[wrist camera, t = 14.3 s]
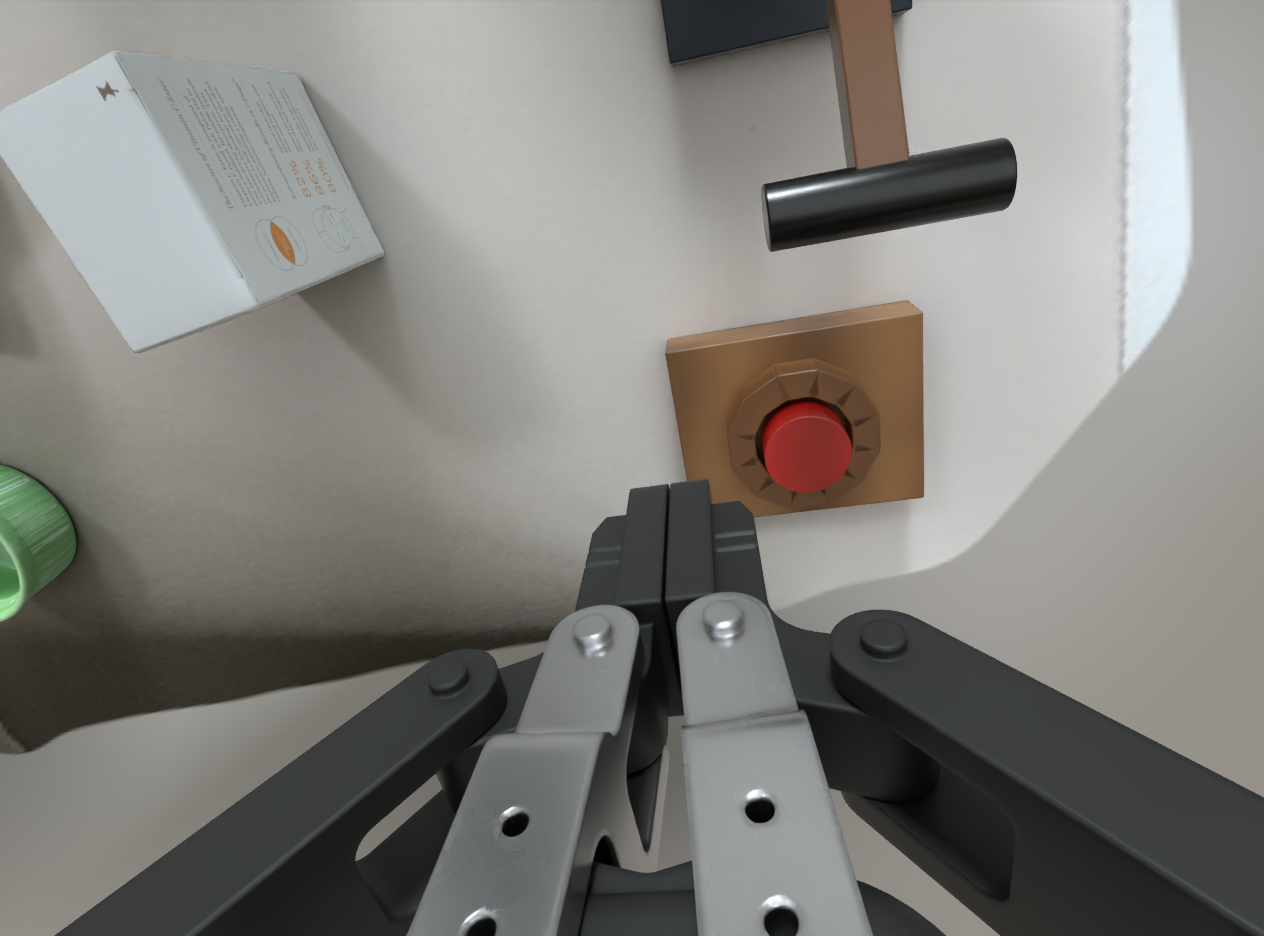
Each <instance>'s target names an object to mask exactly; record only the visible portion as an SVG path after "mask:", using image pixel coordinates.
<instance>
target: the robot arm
mask: <svg viewBox="0 0 1264 936" xmlns="http://www.w3.org/2000/svg"><path fill="white" fill-rule="evenodd" d="M682 715H684V717H685V726H682V747H683V758H684V770H685V783H686V794H687V806H688V818H689V828H690V829H689V830H690V841H691V853H692V861H689V862H686V863H683V864H679V865H676V866H673V867H670V868H666V869H663V870H660V871H657V862H658V853H659V844H660V836H661V827H662V819H663V810H664V801H665V792H666V783H667V775H668V766H669V753H668V748H667V744H666V742H667V736H668V717H669V716H682ZM435 774H437V777H438V779H439V781H440V784H441V786H442V788H443V789H442V790H441V791H440V792H439V793H438V794H436V795H435V796H434V797H433V798H432V799H431V800H430V801H429V802H427V803H426V804H425V805H424V806H423V807H422V808H421V809H419V810H418V811H417V812H416V813H415V814H414V815H413V816H412V817H410V818H409V819H408V820H407V821H406V822H405V823H404V824H402V825H401V826H400V827H399V828H398V829H397V830H396V831H395V832H393V833H392V834H391V835H390V836H389V837H388V838H387V839H385V840H384V841H383V842H382V843H381V844H380V845H378V846H377V847H376V848H375V849H374V850H373V851H372V852H371V853H369V854H368V855H367V856H365V857H364V858H362V859H360V860H358V861H355V856H356V852H357V849H358V846H359V844H360V843H361V841H362V839H363V838H364V836H365V835H366V834H367V833H368V832H369V830H371V829H372V828H373V827H374V826H375V825H376V824H377V823H378V822H380V821H381V820H382V819H383V818H384V817H385V816H387V815H388V814H389V813H390V812H391V811H392V810H393V809H395V808H396V807H397V806H398V805H399V804H401V803H402V802H403V801H404V800H405V799H406V798H408V797H409V796H410V795H411V794H412V793H413V792H415V791H416V790H417V789H418V788H419V787H421V785H423V784H424V783H425V782H426V781H428V779H430V778H431V777H432V776H433V775H435ZM829 788H831V789H835V790H839V791H841V793H842V796H843V797H844V800H845V802H846V803H847V804H848V806H849V807H850V808H851V809H852V810H853V811H854V812H855V813H856V814H857V815H858V816H859V817H860V818H862V819H863V820H864V821H865V822H866V823H867V824H869V825H870V826H871V827H872V828H874V829H875V830H876V831H877V832H878V833H879V834H881V835H882V836H883V837H884V838H885V839H886V840H888V841H889V842H890V843H891V844H893V845H894V846H895V847H896V848H897V849H898V850H900V851H901V852H902V853H903V854H904V855H905V856H907V857H908V858H909V859H910V860H911V861H913V862H914V863H915V864H916V865H917V866H918V867H920V868H921V869H922V870H923V871H924V872H926V873H927V874H928V875H929V876H930V877H932V878H933V879H934V880H935V881H936V882H938V883H939V884H940V885H941V886H942V887H943V888H945V889H946V890H947V891H948V892H949V893H951V894H952V895H953V896H954V897H955V898H956V899H958V900H959V901H960V902H961V903H962V904H964V905H965V906H966V907H967V908H968V909H969V910H971V911H972V912H973V913H974V914H975V915H977V916H978V917H979V918H980V919H981V920H983V921H984V922H985V923H986V924H987V925H988V926H990V927H991V928H992V929H993V930H994V931H996V932H997V933H998V934H999V935H1000V936H1264V798H1263V797H1262V796H1260V795H1258V794H1256V793H1254V792H1252V791H1250V790H1248V789H1246V788H1244V787H1242V786H1240V785H1238V784H1236V783H1235V782H1233V781H1230V780H1229V779H1227V778H1225V777H1223V776H1221V775H1219V774H1217V773H1215V772H1213V771H1211V770H1209V769H1208V768H1205V767H1203V766H1202V765H1200V764H1198V763H1196V762H1194V761H1192V760H1190V759H1188V758H1186V757H1184V756H1182V755H1180V754H1178V753H1176V752H1175V751H1172V750H1171V749H1169V748H1166V747H1165V746H1163V745H1161V744H1159V743H1157V742H1155V741H1153V740H1151V739H1149V738H1147V737H1145V736H1144V735H1142V734H1140V733H1138V732H1136V731H1134V730H1132V729H1130V728H1128V727H1126V726H1124V725H1122V724H1120V723H1119V722H1117V721H1114V720H1113V719H1111V718H1109V717H1107V716H1105V715H1103V714H1101V713H1099V712H1097V711H1095V710H1093V709H1091V708H1089V707H1087V706H1086V705H1084V704H1082V703H1080V702H1078V701H1076V700H1074V699H1072V698H1070V697H1068V696H1066V695H1064V694H1062V693H1060V692H1059V691H1057V690H1055V689H1053V688H1051V687H1049V686H1047V685H1045V684H1043V683H1041V682H1039V681H1037V680H1035V679H1033V678H1031V677H1030V676H1028V675H1026V674H1024V673H1022V672H1020V671H1018V670H1016V669H1014V668H1012V667H1010V666H1008V665H1006V664H1004V663H1002V662H1000V661H998V660H997V659H995V658H993V657H991V656H989V655H987V654H985V653H983V652H981V651H979V650H977V649H975V648H973V647H971V646H969V645H968V644H966V643H964V642H962V641H960V640H958V639H956V638H954V637H952V636H950V635H948V634H946V633H944V632H942V631H940V630H939V629H937V628H935V627H933V626H931V625H929V624H927V623H925V622H923V621H921V620H919V619H917V618H915V617H913V616H910V615H908V614H905V613H901V612H897V611H891V610H868V611H862V612H858V613H855V614H853V615H850V616H848V617H846V618H844V619H843V620H841V621H840V622H839V623H838V624H837V625H836V626H835V627H834V629H833V630H832V632H831V634H828V633H820V632H813V631H808V630H804V629H800V628H797V627H794V626H792V625H790V624H788V623H786V622H784V621H783V620H781V619H780V618H779V617H778V616H777V615H775V614H774V612H773V611H772V610H771V608H770V606H769V604H768V600H767V595H766V589H765V583H764V577H763V571H762V565H761V559H760V553H759V547H758V541H757V535H756V528H755V522H754V516H753V513H752V512H751V511H750V510H749V509H747V508H746V507H745V506H744V505H743V504H742V503H741V502H740V501H733V502H725V503H717V504H713V502H712V496H711V489H710V484H709V479H702V480H695V481H687V482H679V483H672V484H671V485H670V488H669V485H668V484H665V485H657V486H650V487H642V488H635V489H631V490H630V493H629V500H628V506H627V513H626V515H622V516H614V517H607V518H606V519H605V520H604V521H603V522H602V523H601V524H600V526H599V527H598V528H597V529H596V530H595V531H594V533H593V534H592V538H591V543H590V547H589V554H588V556H587V560H586V568H585V569H584V574H583V578H582V583H581V587H580V591H579V596H578V600H577V605H576V609H575V612H574V613H572V614H571V615H569V616H567V617H566V618H565V619H563V620H562V621H561V622H560V623H559V624H558V625H557V626H556V627H555V629H554V630H553V631H552V633H551V635H550V638H549V640H548V643H547V646H546V649H545V651H544V652H543V653H541V654H540V655H538V656H535V657H532V658H530V659H527V660H524V661H521V662H518V663H516V664H512V665H509V666H507V667H504V668H501V669H498V667H497V664H496V661H495V659H494V658H493V657H492V656H491V655H490V654H489V653H487V652H485V651H482V650H478V649H460V650H455V651H452V652H448V653H445V654H443V655H441V656H438V657H437V658H435V659H433V660H431V661H430V662H428V663H427V664H425V665H424V666H423V667H421V668H420V669H418V670H417V671H416V672H414V673H413V674H412V675H410V676H409V677H407V678H406V679H405V680H403V681H402V682H400V683H399V684H398V685H397V686H395V687H394V688H392V689H391V690H390V691H388V692H387V693H386V694H384V695H383V696H381V697H380V698H379V699H377V700H376V701H375V702H373V703H372V704H370V705H369V706H368V707H366V708H365V709H364V710H362V711H361V712H359V713H358V714H357V715H355V716H354V717H353V718H351V719H350V720H349V721H347V722H346V723H344V724H343V725H342V726H340V727H339V728H338V729H336V730H335V731H334V732H332V733H331V734H329V735H328V736H327V737H326V738H324V739H323V740H321V741H320V742H319V743H317V744H316V745H314V746H313V747H312V748H310V749H309V750H308V751H306V752H305V753H303V754H302V755H301V756H299V757H298V758H297V759H296V760H294V761H293V762H291V763H290V764H288V765H287V766H286V767H284V768H283V769H282V770H280V771H279V772H278V773H276V774H275V775H273V776H272V777H271V778H269V779H268V780H267V781H265V782H264V783H262V784H261V785H260V786H258V787H257V788H256V789H254V790H253V791H252V792H250V793H249V794H247V795H246V796H245V797H243V798H242V799H241V800H239V801H238V802H236V803H235V804H234V805H233V806H231V807H230V808H228V809H227V810H226V811H224V812H223V813H221V814H220V815H219V816H217V817H216V818H215V819H213V820H212V821H211V822H209V823H208V824H206V825H205V826H204V827H202V828H201V829H200V830H198V831H197V832H196V833H194V834H193V835H192V836H190V837H189V838H187V839H186V840H185V841H183V842H182V843H180V844H179V845H178V846H177V847H175V848H174V849H172V850H171V851H170V852H168V853H167V854H165V855H164V856H163V857H161V858H160V859H159V860H157V861H156V862H155V863H153V864H152V865H150V866H149V867H148V868H146V869H145V870H144V871H142V872H141V873H139V874H138V875H137V876H135V877H134V878H133V879H131V880H130V881H129V882H127V883H126V884H125V885H123V886H122V887H120V888H119V889H118V890H116V891H115V892H114V893H112V894H111V895H109V896H108V897H107V898H105V899H104V900H103V901H101V902H100V903H99V904H97V905H96V906H94V907H93V908H92V909H90V910H89V911H88V912H86V913H85V914H83V915H82V916H81V917H79V918H78V919H77V920H75V921H74V922H73V923H71V924H70V925H68V926H67V927H66V928H64V929H63V930H62V931H60V932H59V933H58V934H56V935H55V936H946V935H945V934H943V933H942V932H941V931H940V930H939V929H938V928H937V927H936V926H935V925H933V924H932V923H931V922H929V921H928V920H927V919H926V918H924V917H923V916H922V915H920V914H919V913H918V912H916V911H915V910H914V909H912V908H911V907H909V906H908V905H906V904H904V903H903V902H901V901H899V900H898V899H896V898H894V897H893V896H891V895H890V894H888V893H885V892H883V891H881V890H879V889H877V888H875V887H873V886H871V885H869V884H866V883H864V882H861V881H858V880H856V877H855V874H854V870H853V867H852V864H851V860H850V857H849V854H848V850H847V848H846V844H845V841H844V837H843V834H842V831H841V827H840V824H839V820H838V817H837V814H836V810H835V807H834V804H833V801H832V797H831V794H830V790H829Z"/></svg>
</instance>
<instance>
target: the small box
mask: <svg viewBox="0 0 1264 936" xmlns="http://www.w3.org/2000/svg"><path fill="white" fill-rule="evenodd" d="M0 157H1V158H2V160H3V161H4V163H5V164H6V165H7V167H8V168H9V170H10V171H11V173H12V174H13V176H14V177H15V179H16V180H17V182H18V183H19V185H20V186H21V187H22V189H23V190H24V192H25V193H26V195H27V196H28V198H29V199H30V201H31V202H32V203H33V205H34V206H35V208H36V209H37V211H38V212H39V214H40V215H41V217H42V218H43V220H44V221H45V223H46V224H47V226H48V227H49V229H50V230H51V231H52V233H53V234H54V236H55V237H56V239H57V240H58V242H59V243H60V245H61V246H62V248H63V249H64V251H65V252H66V254H67V255H68V257H69V258H70V260H71V261H72V262H73V264H74V265H75V267H76V268H77V270H78V271H79V273H80V274H81V276H82V277H83V279H84V280H85V282H86V283H87V285H88V286H89V287H90V289H91V290H92V292H93V293H94V295H95V296H96V298H97V299H98V301H99V302H100V304H101V305H102V307H103V308H104V310H105V311H106V313H107V314H108V316H109V317H110V318H111V320H112V321H113V323H114V324H115V326H116V327H117V329H118V330H119V332H120V333H121V335H122V336H123V338H124V339H125V341H126V342H127V344H128V345H129V347H130V349H131V350H132V351H133V352H135V353H141V352H144V351H147V350H150V349H153V348H155V347H158V346H161V345H164V344H167V343H170V342H173V341H175V340H178V339H181V338H184V337H187V336H189V335H192V334H195V333H198V332H200V331H203V330H206V329H208V328H211V327H214V326H216V325H219V324H222V323H224V322H227V321H229V320H232V319H234V318H237V317H239V316H242V315H244V314H247V313H250V312H252V311H255V310H258V309H260V308H263V307H265V306H268V305H270V304H272V303H274V302H277V301H279V300H281V299H284V298H286V297H288V296H290V295H293V294H295V293H298V292H300V291H303V290H305V289H307V288H310V287H312V286H315V285H317V284H319V283H322V282H324V281H327V280H329V279H331V278H334V277H336V276H338V275H341V274H343V273H346V272H348V271H350V270H353V269H355V268H357V267H360V266H362V265H364V264H367V263H369V262H371V261H374V260H376V259H378V258H381V257H383V256H384V254H385V253H384V250H383V248H382V246H381V244H380V242H379V240H378V238H377V236H376V234H375V232H374V230H373V228H372V226H371V224H370V222H369V220H368V218H367V216H366V214H365V212H364V210H363V207H362V205H361V203H360V201H359V199H358V197H357V195H356V193H355V191H354V189H353V187H352V185H351V183H350V181H349V179H348V177H347V175H346V173H345V171H344V169H343V167H342V164H341V162H340V160H339V158H338V156H337V154H336V152H335V150H334V148H333V146H332V144H331V142H330V140H329V138H328V136H327V134H326V132H325V130H324V128H323V126H322V124H321V122H320V120H319V118H318V115H317V113H316V111H315V109H314V107H313V105H312V103H311V101H310V99H309V97H308V95H307V93H306V91H305V89H304V87H303V84H302V82H301V80H300V78H299V77H298V75H297V74H295V73H290V72H280V71H273V70H264V69H257V68H249V67H240V66H231V65H225V64H217V63H210V62H202V61H195V60H188V59H182V58H174V57H167V56H159V55H151V54H143V53H135V52H127V51H116V50H114V51H112V52H110V53H108V54H106V55H104V56H102V57H101V58H99V59H97V60H95V61H93V62H91V63H89V64H87V65H85V66H84V67H82V68H80V69H78V70H76V71H74V72H72V73H70V74H68V75H66V76H64V77H63V78H61V79H59V80H57V81H55V82H53V83H51V84H49V85H47V86H45V87H43V88H42V89H40V90H38V91H36V92H34V93H32V94H30V95H28V96H26V97H24V98H22V99H20V100H18V101H16V102H14V103H12V104H10V105H9V106H7V107H5V108H3V109H1V110H0Z"/></svg>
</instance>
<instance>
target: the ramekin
mask: <svg viewBox="0 0 1264 936" xmlns="http://www.w3.org/2000/svg"><path fill="white" fill-rule="evenodd" d="M75 553H76V535H75V531H74V527H73V525H72V522H71V520H70V518H69V516H68V514H67V512H66V511H65V509H64V508H63V507H62V505H61V504H60V503H59V501H58V500H57V499H56V498H55V497H54V496H53V495H52V494H51V493H50V492H49V491H48V490H47V489H46V488H45V487H44V486H42V485H41V484H40V483H38V482H37V481H36V480H34V479H33V478H31V477H29V476H28V475H26V474H24V473H22V472H20V471H18V470H16V469H13V468H11V467H8V466H5V465H1V464H0V622H2V621H4V620H7V619H9V618H11V617H12V616H14V615H15V614H17V613H18V612H19V611H20V610H21V609H22V608H23V607H24V606H25V605H26V604H27V603H28V601H29V600H30V598H31V597H32V596H33V595H35V594H36V593H37V592H38V591H40V590H41V589H42V588H43V587H45V586H46V585H47V584H48V583H49V582H51V581H52V580H53V579H54V578H56V577H57V576H58V575H59V574H60V573H61V572H63V571H64V570H65V569H66V568H67V567H68V565H69V564H70V563H71V561H72V559H73V557H74V555H75Z"/></svg>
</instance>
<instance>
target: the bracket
mask: <svg viewBox="0 0 1264 936" xmlns="http://www.w3.org/2000/svg"><path fill="white" fill-rule="evenodd" d="M890 4H891V12H892V16H896V15H900V14H903V13H905V12H907V11H908V10H910V9H912V0H890ZM661 5H662V11H663V18H664V25H665V32H666V39H667V46H668V53H669V60H670V64H671V66H676V65H680V64H684V63H689V62H693V61H698V60H702V59H706V58H711V57H715V56H720V55H724V54H728V53H733V52H737V51H742V50H746V49H750V48H755V47H759V46H764V45H768V44H772V43H777V42H781V41H786V40H790V39H794V38H799V37H803V36H808V35H812V34H816V33H821V32H825V31H830V29H829V21H828V13H827V5H826V0H661Z"/></svg>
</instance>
